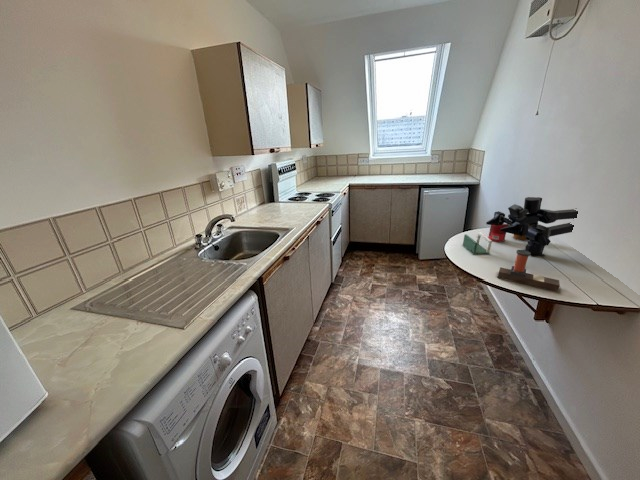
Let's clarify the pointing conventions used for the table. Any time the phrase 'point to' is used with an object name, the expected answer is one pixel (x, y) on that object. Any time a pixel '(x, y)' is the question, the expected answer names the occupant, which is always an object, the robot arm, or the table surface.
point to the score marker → (520, 263)
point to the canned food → (497, 233)
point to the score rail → (530, 280)
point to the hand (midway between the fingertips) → (493, 226)
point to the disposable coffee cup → (520, 237)
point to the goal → (476, 244)
